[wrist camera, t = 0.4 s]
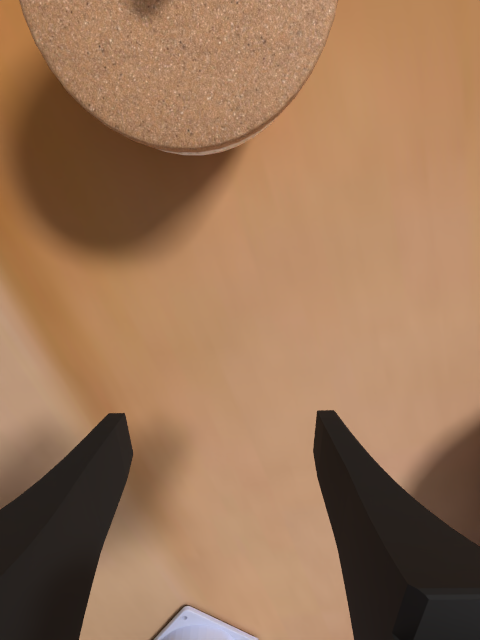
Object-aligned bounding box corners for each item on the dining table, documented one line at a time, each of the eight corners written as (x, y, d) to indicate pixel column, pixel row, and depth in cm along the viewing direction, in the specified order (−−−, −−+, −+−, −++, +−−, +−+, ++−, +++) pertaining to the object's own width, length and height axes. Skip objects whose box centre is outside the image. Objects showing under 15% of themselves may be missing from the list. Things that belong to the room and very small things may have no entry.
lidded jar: (303, 162, 20) (356, 128, 11) (117, 176, 21) (25, 155, 12) (299, -81, 17) (368, -394, 8) (77, -62, 17) (-94, -348, 8)
